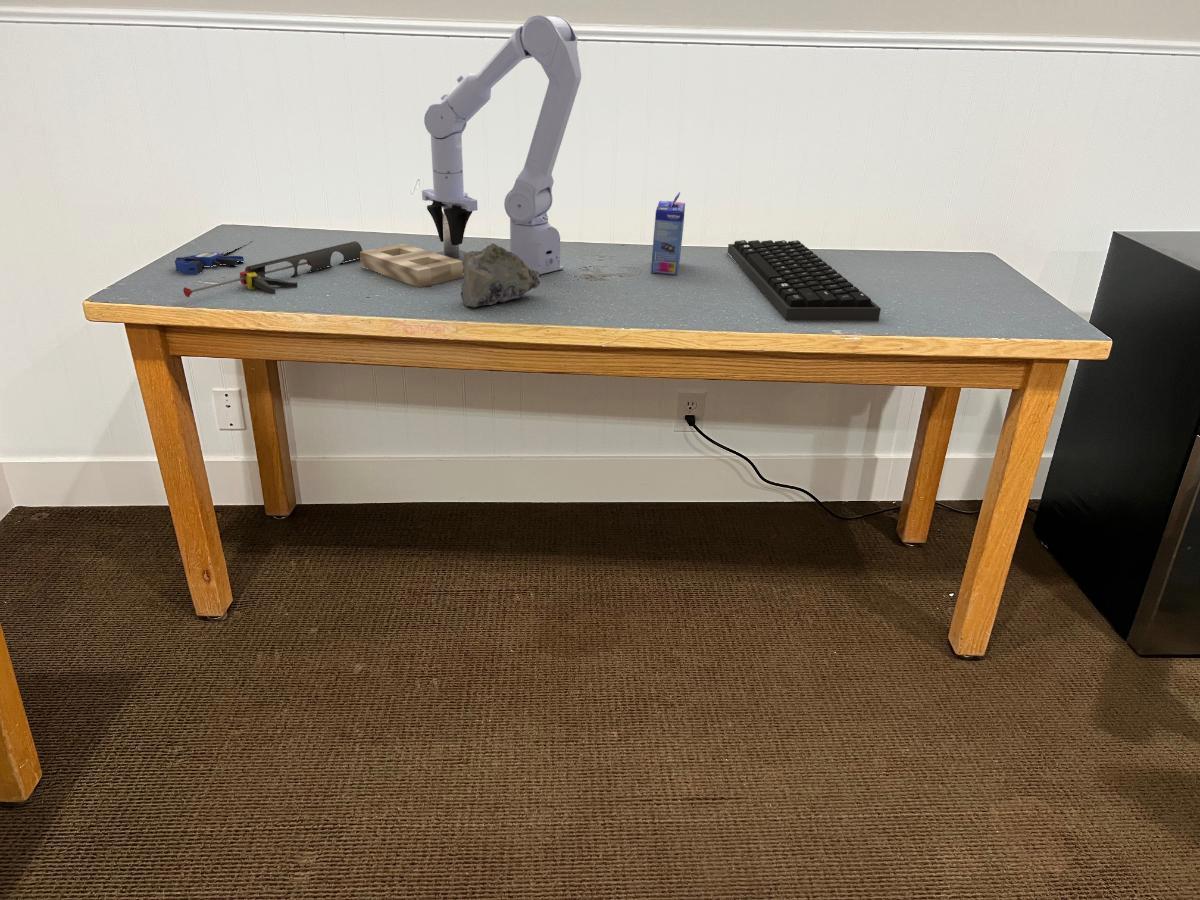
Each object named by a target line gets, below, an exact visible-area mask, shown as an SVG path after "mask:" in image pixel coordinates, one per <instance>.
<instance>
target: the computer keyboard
mask: <svg viewBox="0 0 1200 900" xmlns="http://www.w3.org/2000/svg"><path fill="white" fill-rule="evenodd" d="M727 246H728V247H727V254H728V253H729V254H730V255H731V256H732V258H733V259H734V260H735V261H736V263H737V264H738V265H739V266H738V265H737V264H736V263H735V264H736V265H737V266H738V268H739V269H740V268H741V269H742V270H741V269H740V270H741V271H742V272H743V274H745V276H746V277H747V278H748V279H749V280H750V282H752V283H753V284H754V286H755V287H756V288H757V290H758V291H759V292H760V293H761V294H762V296H763V297H765V299H767V301H768V303H770V304H771V306H772V307H773V308H774V310H776V311H777V312H778V314H779V315H780V316H781V317H782V318H783V319H784V321H788V322H789V321H792V322H793V321H796V322H798V321H801V322H803V321H804V322H805V321H806V322H807V321H808V322H809V321H810V322H813V321H815V322H816V321H817V322H819V321H825V322H826V321H827V322H828V321H830V322H832V321H833V322H836V321H837V322H838V321H839V322H840V321H841V322H843V321H844V322H846V321H847V322H848V321H849V322H852V321H855V322H859V321H861V322H863V321H864V322H865V321H866V322H870V321H871V322H873V321H874V322H877V321H879V320H880V315H881V309H882V308H881V307H880V306H878V305H877V304H876V303H875V302H874V301H873V300H872V298H870V297H869V296H868V295H867V294H865V293H864V292H863V291H861V290H860V289H859V288H858V287H856V286H854V284H853V283H852V282H851V281H849V280H848V279H847V278H845V277H843V275H842V274H840V273H839V272H838V271H837V270H836V269H834V268H833V267H832V266H830V265H829V264H828V263H827V262H826V261H824V260H823V259H822V258H821V257H819V256H818V255H817V254H816V253H814V252H813V251H812V250H810V248H808V247H807V246H805V245H804V244H803V243H801V241H800V240H799V239H798V240H790V241H787V240H783V239H782V240H777V241H776V240H775V241H773V240H772V239H771V240H763V241H760V240H759V239H756V240H755V239H754V240H748V241H747V240H745V239H741V240H735V241H734V243H729V244H728V245H727ZM732 258H731V259H732ZM733 259H732V260H733Z"/></svg>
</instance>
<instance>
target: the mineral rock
mask: <svg viewBox="0 0 1200 900" xmlns="http://www.w3.org/2000/svg"><path fill="white" fill-rule="evenodd" d="M463 264H464V265H463V271H462V272H463V283H462V284H461V286H460V288H461V293H460V296H461V300H462V302H463V304H464V305H465V307H470V308H477V307H481V306H486V305H487V306H488V305H489V306H491V305H495V304H497V303H498V302H499V303H505V302H508V301H509V302H510V300H514V299H519V298H521V297H522V296H524V295H525V294H526V293H528V292H530V291H531V290H532V289H536V288H538V286H539V285H540V283H541V282H540V280H539V277H540V275H541V274H540V273H539V272H538V271H536V270H534V269H529V268H528V267H527V266H526V265H525V264H524V262H523V260H522V259H520V258H519V257H518V256H516V255H515V254H514V253H512V252H511V251H508V249H506V248H503V247H501V246H499V245H497V244H495V243H491V244H488V245H487V246H485V247H484V248H483V249H482V250H475V251H474V250H470V251H465V254H464V257H463Z"/></svg>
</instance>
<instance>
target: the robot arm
mask: <svg viewBox="0 0 1200 900" xmlns="http://www.w3.org/2000/svg"><path fill="white" fill-rule="evenodd" d="M578 39H579V38H578V36H577V34H576V32H575V29H574V28H573V27H572V25H571V23H570V22H569V21H568V20H567V19H566V18H564V17H563V16H561V15H551V16H548V15H546V16H545V15H541V14H536V15H533V16H531V17H529V18H528V19H526V21H525V22H524V24H523V25H520V26H519V27H518V28H517V29H515V30H514V31H513V33H512V34H511V35H510V37H509V38H508V39H507V40H506V41H505V42H504V44H503V45H502V46H501V47H500V48H499V49H498V50H497V51H496V53H495V54H493V56H492V57H491V58H490V59H489V61H487V62H486V64H485V65H484V66H483V67H482V69H481V70H480V71H479V72H478V73H471V72H470V73H467V74H466V75H465V74H463V75H460V76H459V77H458V78H457V79H456V81H457V84H456V85H455V86H454V87H453V88H452V89H451V91H449V92H448V93H447V94H443V95H442V96H441V97H440V100H441V101H440V103H433V104H431V105H429V107H428V109H427V110H426V112H425V114H424V117H423V119H424V120H423V121H424V125H425V129H426V131H427V132H428V134H429V135H430V144H431V145H430V148H431V149H430V150H431V166H432V167H431V168H432V182H433V185H432V186H433V189H431V188H427V189H422V190H421V196H422V201H424V202H425V201H429V202H432V203H431V204H428V205H426V210H427V212H428V213H429V215H430V216H431V218H432V220H433V222H434V224H435V225H434V226H435V228H436V231H437V234H438V237H439V241H440V242H441V243H444V242H443V223H442V205H450V206H452V208H447V209H443V211H444V213H445V216H446V218H447V221H448V225H449V231H450V239H451V243H452V245H459V246H460V245H461V244H463V241H464V236H465V230H466V227H467V223H468V221H469V219H470V217H471V215H472V213H473V212H474V211H478V199H476V198H472V197H470V196H469V194H468V193H467V192H464V191H465V190H464V189H465V188H464V166H463V165H464V164H463V163H464V162H463V142H462V136H463V133H464V131H465V129H466V127H467V124H468V122H469V121H470V120H471V119H472V118H473V116H475V115H476V114H477V113H478V112H479V111H480V110H481V109H482V108H483V107H484V106H485V105H486V104H487V103H488V102H489V101H490V100H491V95H492V88H493V87H494V86H495V85H496V84H497V83H498V82H500V80H502V79H503V78H505V76H506V75H507V74H509V73H510V72H511V71H512V70H513V69H514V68H515V67H516V66H517V65H518V64H519V63H521V62H522V61H523V60H526V59H532V58H533V59H534V60H535V61H537V62H538V63H539V64H540V65H541V67H542V69H543V72H544V73H545V75H546V77H547V78H548V84H547V86H546V87H547V89H546V91H545V95H544V99H543V102H542V105H541V109H540V111H539V115H538V119H537V121H536V124H535V129H534V131H533V135H532V139H531V142H530V145H529V150H528V153H527V156H526V159H525V163H524V166H523V168H522V170H521V171H520V173H519V174H518V175H517V177H516V179H515V181H514V184H513V187H512V189H511V190H509V191H508V193H507V194H506V196H505V198H504V204H503V205H504V210H505V212H506V215H507V216H508V217H509V228H510V229H509V238H510V240H509V241H510V242H509V243H510V244H509V245H510V252H512V253H514V254H515V255H516V256H518V257H519V258H520V259H522V260H523V262H524V264H525V265H526V266H527V267H528V268H529V269H534V270H536V271H538V272H539V273H540V274H539V275H543V274H547V273H551V272H555V271H559V270H563V268H564V266H563V265H561V235H560V233H559V231H558V229H557V228H555V227H554V226H551V224H550V223H549V217H548V211H550V209H551V207H552V205H553V193H552V191H553V186H554V181H555V180H554V178H553V175H552V174H553V171H554V167H555V164H556V161H557V157H558V155H559V151H560V148H561V145H562V142H563V139H564V135H565V131H566V128H567V127H568V126H567V125H568V122H569V120H570V119H569V118H570V116H571V114H572V113H571V112H572V110H573V106H574V103H575V99H576V97H577V94H578V91H579V87H580V84H581V80H582V69H581V64H580V59H579V52H578V41H579V40H578Z"/></svg>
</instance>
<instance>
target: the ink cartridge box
mask: <svg viewBox="0 0 1200 900" xmlns="http://www.w3.org/2000/svg"><path fill="white" fill-rule="evenodd" d="M680 195H681V192H680V191H679V192H678V193H677V195H676V196H675V197H674V199H673V201H670V200H659V202H658V203H657V206H656V209H655V216H654V226H653V227H654V228H653V240H652V252H651V262H650V263H651V265H650V273H654V274H665V275H673V276H677V275H678V273H679V268H680V264H679V263H680V260H681V254H682V253H681V252H682V245H683V244H682V243H683V235H684V224H685V222H684V221H685V211H686V210H685V207H686V203H685V202H681V201H680V202H679V201H677V200H678V199H679V197H680Z"/></svg>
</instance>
